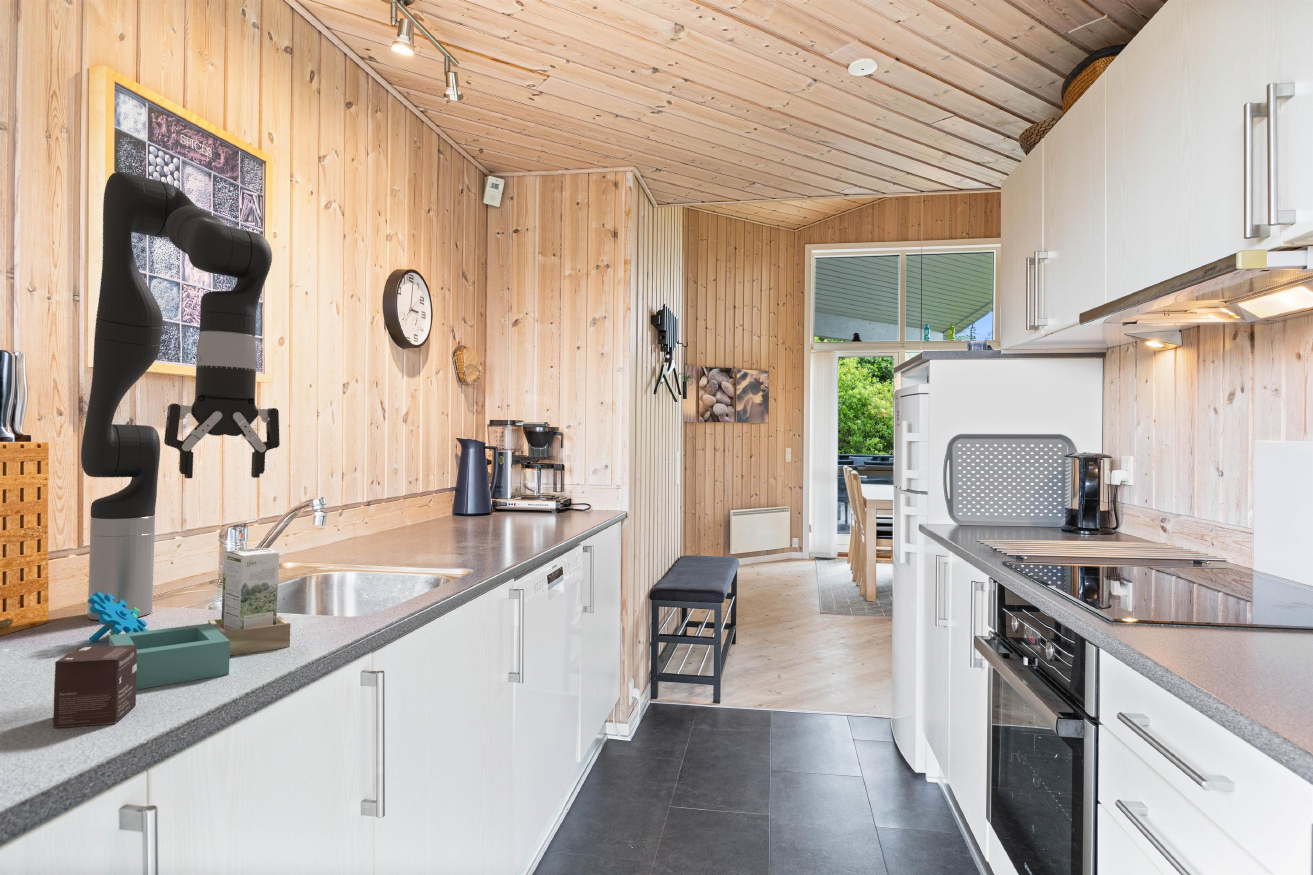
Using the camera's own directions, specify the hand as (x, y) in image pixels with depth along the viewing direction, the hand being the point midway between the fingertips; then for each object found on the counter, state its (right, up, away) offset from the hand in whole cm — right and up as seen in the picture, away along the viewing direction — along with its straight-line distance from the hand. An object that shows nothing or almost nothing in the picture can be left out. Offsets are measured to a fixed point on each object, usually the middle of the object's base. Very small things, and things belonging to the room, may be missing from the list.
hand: (222, 477), depth 108 cm
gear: (-20, -26, +7) cm, 33 cm away
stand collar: (0, -26, +6) cm, 27 cm away
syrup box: (0, -26, +6) cm, 27 cm away
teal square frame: (-3, -26, -7) cm, 27 cm away
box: (0, -26, -24) cm, 35 cm away
